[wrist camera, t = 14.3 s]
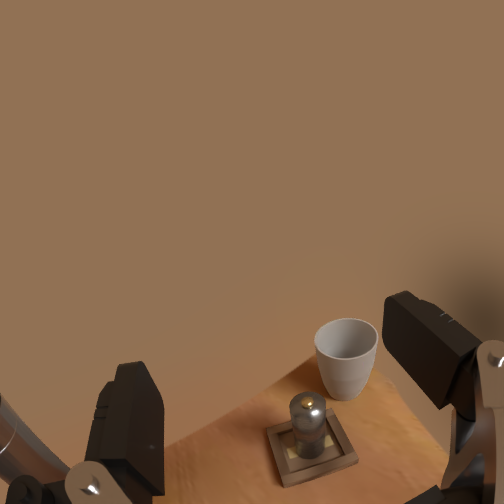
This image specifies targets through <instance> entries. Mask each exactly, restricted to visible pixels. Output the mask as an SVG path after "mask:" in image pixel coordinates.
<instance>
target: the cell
mask: <svg viewBox="0 0 504 504" xmlns="http://www.w3.org/2000/svg"><path fill="white" fill-rule="evenodd" d="M289 407H290V414H291V421H292V428H293V435H294V442H295V449H296V453H297V454H298V455H299V456H300V457H301V458H304V459H315V458H317V457H319V456H320V455H321V454H322V453H323V452H324V450H325V428H326V402H325V399H324V398H323V396H321V395H320V394H318V393H316V392H303V393H300V394H298V395H296V396H295V397H294V398H293V399H292V400H291V402H290V406H289Z"/></svg>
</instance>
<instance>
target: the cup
mask: <svg viewBox="0 0 504 504" xmlns="http://www.w3.org/2000/svg"><path fill="white" fill-rule="evenodd" d="M377 343H378V333H377V331H376V329H375V328H374V327H373V326H372V325H371V324H369V323H368V322H365V321H363V320H360V319H354V318H343V319H337V320H334V321H331V322H329V323H327V324H325V325H323V326H322V327H321V328H320V329H319V330H318V331H317V333H316V335H315V348H316V355H317V362H318V367H319V371H320V374H321V377H322V381H323V384H324V386H325V387H326V389H327V391H328V393H329V395H330V396H331V397H332V398H334V399H336V400H339V401H348V400H352V399H354V398H356V397H357V396H358V395H359V394H360V392H361V391H362V389H363V388H364V386H365V384H366V383H367V381H368V378H369V375H370V373H371V370H372V367H373V364H374V359H375V354H376V349H377Z"/></svg>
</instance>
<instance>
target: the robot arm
mask: <svg viewBox="0 0 504 504" xmlns="http://www.w3.org/2000/svg"><path fill="white" fill-rule="evenodd" d="M382 338H383V343H384V345H385V347H386V349H387V350H388V351H389V353H390V354H391V355H392V356H393V357H394V358H395V359H396V360H397V361H398V363H399V364H400V365H401V366H402V367H403V368H404V369H405V371H406V372H407V373H408V374H409V375H410V376H411V378H412V379H413V380H414V381H415V382H416V383H417V384H418V386H419V387H420V388H421V389H422V390H423V392H424V393H425V394H426V395H427V396H428V397H429V399H430V400H431V401H432V402H433V403H434V405H436V407H437V408H438V409H439V410H440V409H442V408H443V407H445V406H446V405H448V404H450V403H451V404H452V405H453V406H454V408H453V410H452V420H451V444H450V457H449V462H448V465H447V468H446V470H445V473H444V476H443V479H442V483H441V488H440V489H439V488H438V486H437V485H435V486H433V487H432V488H430V489H429V490H427V491H425V492H424V493H422V494H420V495H419V496H417V497H415V498H413V499H412V500H410V501H408V502H406V503H404V504H504V342H501V341H497V340H490V341H486V342H484V343H483V342H481V341H480V340H479V339H478V338H476V337H475V336H474V335H473V334H472V333H470V332H469V331H468V330H466V329H465V328H464V327H463V326H462V325H460V324H459V323H458V322H457V321H455V320H454V321H453V318H451V317H450V316H449V315H448V314H445V312H444V311H442V310H441V309H440V308H439V307H437V306H436V305H434V304H432V303H429V302H427V301H424V300H419V299H418V298H417V297H415V296H414V295H413V294H411V293H410V292H408V291H403V292H400V293H397V294H395V295H392V296H389V297H387V298H386V299H385V303H384V316H383V327H382ZM96 408H97V409H96V410H95V414H94V420H93V422H92V426H91V431H90V436H89V441H88V446H87V450H86V455H85V460H84V462H81V463H79V464H77V465H75V466H74V467H73V468H72V469H70V468H69V467H67V466H66V465H65V464H64V463H63V462H62V461H61V460H60V459H59V458H58V457H57V456H56V455H55V454H54V453H53V452H52V451H51V450H50V449H49V448H48V447H47V446H45V444H43V442H42V441H41V440H40V439H39V438H38V437H37V436H36V435H35V434H34V433H33V432H32V431H31V430H30V428H28V426H27V425H26V424H25V423H24V422H23V421H22V419H21V418H20V417H19V416H18V415H17V414H16V412H15V411H14V410H13V409H12V408H11V406H10V405H9V404H8V402H7V401H6V400H5V399H4V397H3V396H2V395H1V393H0V478H1V479H2V480H4V481H5V482H6V483H7V484H8V485H10V486H9V488H8V492H7V498H6V503H5V504H152V496H165V488H164V404H163V400H162V397H161V395H160V392H159V391H158V389H157V387H156V385H155V383H154V381H153V379H152V378H151V376H150V374H149V372H148V370H147V368H146V366H145V364H144V363H143V362H142V361H138V362H131V363H125V364H119V366H118V367H117V371H116V375H115V379H114V381H111V382H108V383H107V384H106V385H105V387H104V388H103V390H102V391H101V392H100V394H99V397H98V401H97V405H96Z"/></svg>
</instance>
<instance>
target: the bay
mask: <svg viewBox="0 0 504 504" xmlns="http://www.w3.org/2000/svg"><path fill="white" fill-rule="evenodd" d="M266 431H267V435H268V438H269V441H270V444H271V448H272V451H273V454H274V457H275V461H276V464H277V467H278V470H279V473H280V476H281V479H282V482H283V486H284V488H287V487H290V486H294V485H297V484H301V483H304V482H307V481H310V480H313V479H317V478H320V477H322V476H325V475H328V474H331V473H334V472H336V471H339V470H342V469H344V468H347V467H349V466H352V465H354V464H357V463H358V460H359V458H358V456H357V454H356V452H355V450H354V449H353V447H352V445H351V443H350V441H349V439H348V437H347V436H346V434H345V432H344V430H343V428H342V426H341V424H340V422H339V421H338V419H337V417H336V415H335V413H334V411H333V409H332V408H330V409H327V410H326V428H325V450H324V452H323V453H322V454H321V455H320V456H319V457H317V458H315V459H304V458H301V457H300V456H299V455H298V454H297V453H296V449H295V442H294V435H293V428H292V421H290V422H286V423H283V424H279V425H276V426H272V427H268V428H266Z"/></svg>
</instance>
